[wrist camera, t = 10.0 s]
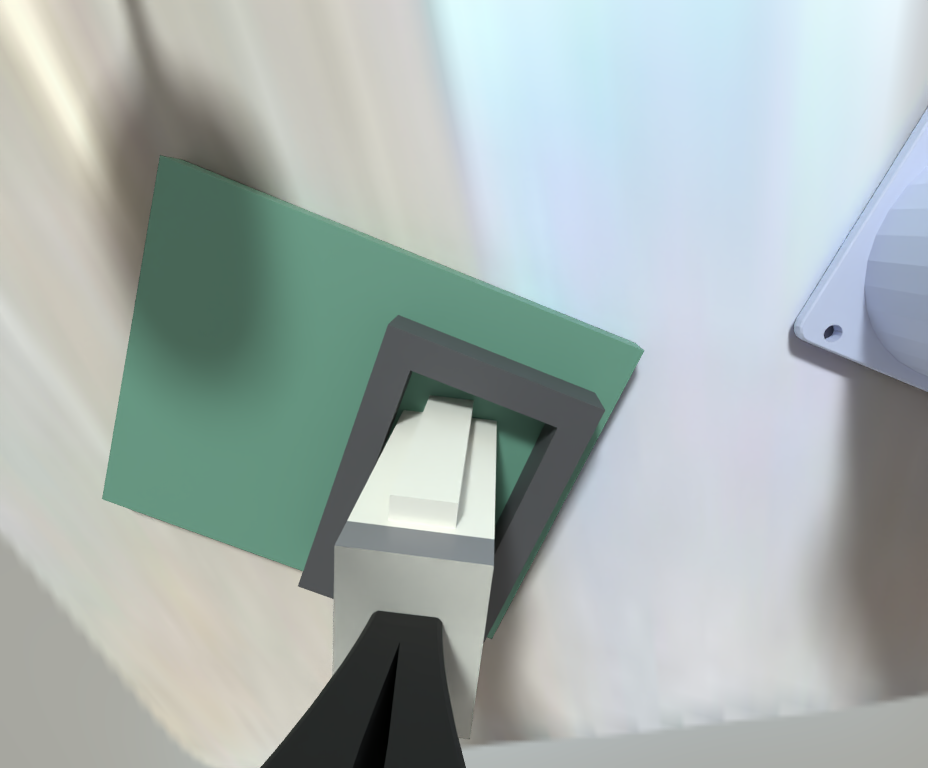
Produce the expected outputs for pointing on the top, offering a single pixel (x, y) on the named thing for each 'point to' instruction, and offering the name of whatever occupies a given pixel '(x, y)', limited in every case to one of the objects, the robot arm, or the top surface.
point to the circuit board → (333, 378)
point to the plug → (425, 540)
